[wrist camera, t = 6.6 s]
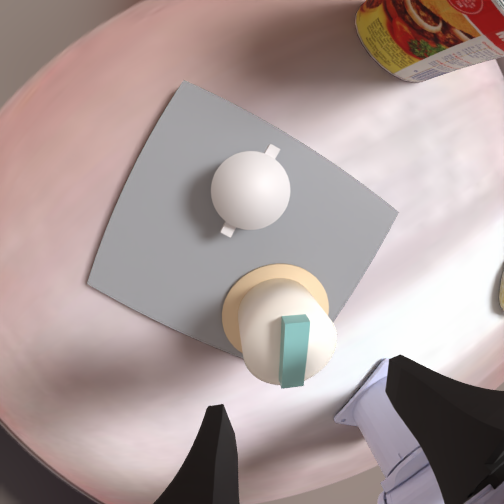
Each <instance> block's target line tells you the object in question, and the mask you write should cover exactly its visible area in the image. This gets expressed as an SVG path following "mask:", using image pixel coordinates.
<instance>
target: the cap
mask: <svg viewBox="0 0 504 504" xmlns="http://www.w3.org/2000/svg"><path fill="white" fill-rule="evenodd" d="M238 324H239V331H240V338H241V345H242V352H243V358H244V362H245V364H246V366H247V368H248V370H249V371H250V372H251V373H252V374H253V375H254V376H255V377H256V378H258V379H260V380H261V381H264V382H266V383H270V384H275V385H280V386H281V389H282V388H290V387H298V386H303V385H304V381H305V380H307V379H309V378H311V377H312V376H314V375H316V374H317V373H318V372H320V371H321V370H322V369H323V368H324V367H325V366H326V365H327V363H328V362H329V361H330V359H331V358H332V356H333V354H334V351H335V348H336V344H337V333H336V329H335V326H334V324H333V322H332V321H331V319H330V318H329V317H328V315H327V314H326V313H325V311H324V310H323V309H322V308H321V306H320V305H319V304H318V302H317V301H316V300H315V298H314V297H313V296H312V295H311V293H310V292H309V291H308V290H307V288H306V287H304V286H303V285H302V284H300V283H299V282H297V281H294V280H291V279H287V278H273V279H269V280H266V281H263V282H261V283H259V284H257V285H256V286H254V287H253V288H252V289H250V290H249V291H248V292H247V294H246V295H245V296H244V298H243V299H242V301H241V303H240V306H239V309H238Z"/></svg>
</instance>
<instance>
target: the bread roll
mask: <svg viewBox="0 0 504 504" xmlns="http://www.w3.org/2000/svg"><path fill="white" fill-rule="evenodd" d="M499 302H500V306H501V308H502V309H503V311H504V271H503V274H502V278H501V284H500V292H499Z"/></svg>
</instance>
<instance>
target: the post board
mask: <svg viewBox="0 0 504 504" xmlns="http://www.w3.org/2000/svg"><path fill="white" fill-rule="evenodd" d="M398 213H399V212H398V211H397V210H395V209H394V208H393V207H392V206H390V205H389V204H388V203H387V202H385V201H384V200H383V199H382V198H380V197H379V196H378V195H376V194H375V193H374V192H372V191H371V190H370V189H369V188H367V187H366V186H365V185H363V184H362V183H360V182H359V181H358V180H356V179H355V178H354V177H352V176H351V175H349V174H348V173H347V172H345V171H344V170H342V169H341V168H339V167H338V166H337V165H335V164H334V163H332V162H331V161H329V160H328V159H326V158H325V157H323V156H322V155H320V154H319V153H317V152H316V151H314V150H313V149H311V148H310V147H308V146H306V145H305V144H303V143H302V142H300V141H298V140H297V139H295V138H294V137H292V136H290V135H289V134H287V133H285V132H284V131H282V130H280V129H279V128H277V127H275V126H273V125H272V124H270V123H268V122H266V121H265V120H263V119H261V118H259V117H257V116H256V115H254V114H252V113H250V112H248V111H246V110H245V109H243V108H241V107H239V106H237V105H235V104H233V103H231V102H229V101H227V100H225V99H223V98H221V97H219V96H217V95H215V94H213V93H211V92H209V91H207V90H205V89H202V88H200V87H198V86H196V85H194V84H191V83H189V82H187V81H185V80H184V81H183V82H182V84H181V85H180V87H179V88H178V90H177V91H176V93H175V94H174V96H173V98H172V99H171V101H170V102H169V104H168V106H167V107H166V109H165V111H164V112H163V114H162V116H161V117H160V119H159V121H158V122H157V124H156V126H155V128H154V130H153V131H152V133H151V135H150V137H149V139H148V140H147V142H146V144H145V146H144V148H143V150H142V152H141V154H140V155H139V157H138V159H137V161H136V163H135V165H134V167H133V169H132V171H131V173H130V176H129V178H128V180H127V182H126V184H125V186H124V188H123V191H122V193H121V195H120V197H119V199H118V202H117V204H116V206H115V209H114V211H113V213H112V216H111V218H110V221H109V223H108V226H107V228H106V231H105V233H104V236H103V239H102V241H101V244H100V247H99V249H98V252H97V255H96V258H95V261H94V264H93V267H92V270H91V273H90V276H89V279H88V282H87V284H88V285H90V286H92V287H93V288H95V289H97V290H99V291H100V292H102V293H104V294H106V295H107V296H109V297H111V298H113V299H115V300H117V301H118V302H120V303H122V304H124V305H126V306H128V307H130V308H132V309H134V310H135V311H137V312H139V313H141V314H143V315H145V316H147V317H149V318H151V319H153V320H155V321H157V322H159V323H162V324H164V325H166V326H168V327H170V328H172V329H174V330H176V331H178V332H181V333H183V334H185V335H187V336H190V337H192V338H194V339H196V340H199V341H201V342H203V343H205V344H208V345H210V346H213V347H215V348H217V349H220V350H222V351H225V352H227V353H230V354H232V355H235V356H237V357H240V358H242V359H244V358H243V352H242V345H241V338H240V331H239V324H238V309H239V306H240V303H241V301H242V299H243V298H244V296H245V295H246V294H247V292H248V291H249V290H250V289H252V288H253V287H254V286H256V285H257V284H259V283H261V282H263V281H266V280H269V279H273V278H287V279H291V280H294V281H297V282H299V283H300V284H302V285H303V286H304V287H306V288H307V290H308V291H309V292H310V293H311V295H312V296H313V297H314V298H315V300H316V301H317V302H318V304H319V305H320V306H321V308H322V309H323V310H324V311H325V313H326V314H327V315H328V317H329V318H330V319H331V321H332V322H334V320H335V319H336V317H337V316H338V314H339V313H340V311H341V310H342V308H343V307H344V305H345V304H346V302H347V301H348V299H349V298H350V296H351V295H352V293H353V291H354V290H355V288H356V287H357V285H358V283H359V282H360V280H361V279H362V277H363V275H364V274H365V272H366V270H367V269H368V267H369V265H370V264H371V262H372V260H373V258H374V257H375V255H376V253H377V251H378V250H379V248H380V246H381V244H382V243H383V241H384V239H385V237H386V235H387V234H388V232H389V230H390V228H391V226H392V224H393V222H394V220H395V219H396V217H397V215H398Z"/></svg>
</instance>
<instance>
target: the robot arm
mask: <svg viewBox="0 0 504 504" xmlns="http://www.w3.org/2000/svg"><path fill="white" fill-rule="evenodd" d="M334 421H335V423H340V424H345V425H352V426H358V427H359V429H360V431H361V433H362V435H363V437H364V438H365V440H366V442H367V444H368V446H369V448H370V450H371V452H372V453H373V455H374V457H375V459H376V461H377V463H378V465H379V467H380V468H381V470H382V472H383V474H384V476H385V478H386V479H385V480H383V481H382V482H381V485H382V487H383V489H384V491H383V492H382V493H380V495H379V497H378V502H377V504H504V391H497V390H490V389H484V388H480V387H476V386H472V385H468V384H465V383H462V382H459V381H456V380H454V379H451V378H448V377H446V376H444V375H441V374H439V373H437V372H435V371H433V370H431V369H429V368H426V367H424V366H422V365H420V364H418V363H416V362H415V361H413V360H411V359H409V358H407V357H404V356H402V355H398V356H396V357H393V358H391V359H384V360H383V361H382V362H381V363H380V365H379V366H378V367H377V369H376V370H375V371H374V372H373V374H372V375H371V376H370V377H369V379H368V380H367V381H366V382H365V383H364V385H363V386H362V387H361V388H360V389H359V391H358V392H357V393H356V394H355V395H354V396H353V397H352V399H351V400H350V401H349V402H348V403H347V404H346V405H345V406H344V408H343V409H342V410H341V411H340V412H339V413H338V414H337V415H336V416H335V417H334ZM153 504H239V489H238V453H237V446H236V439H235V433H234V430H233V428H232V425H231V423H230V420H229V418H228V415H227V413H226V410H225V407H224V405H223V404H221V405H214V406H208V408H207V409H206V413H205V416H204V419H203V422H202V424H201V427H200V429H199V432H198V434H197V437H196V439H195V441H194V443H193V446H192V448H191V450H190V452H189V454H188V455H187V457H186V459H185V461H184V463H183V465H182V466H181V468H180V470H179V471H178V473H177V474H176V476H175V477H174V479H173V480H172V482H171V483H170V484H169V486H168V487H167V488H166V490H165V491H164V492H163V493H162V494H161V496H160V497H159V498H158V499H157V500H156V501H155V502H154V503H153Z"/></svg>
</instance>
